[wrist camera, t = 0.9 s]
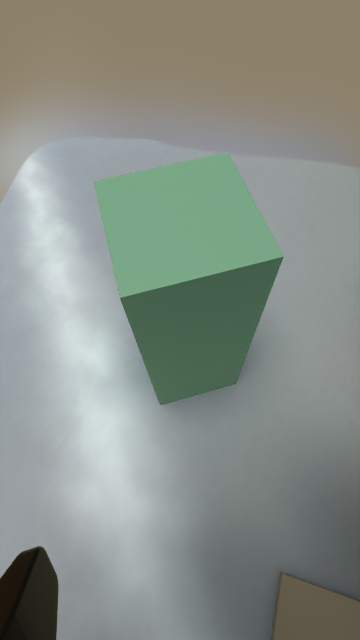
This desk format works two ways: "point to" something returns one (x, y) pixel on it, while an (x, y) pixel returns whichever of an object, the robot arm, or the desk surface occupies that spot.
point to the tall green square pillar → (189, 269)
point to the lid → (313, 612)
